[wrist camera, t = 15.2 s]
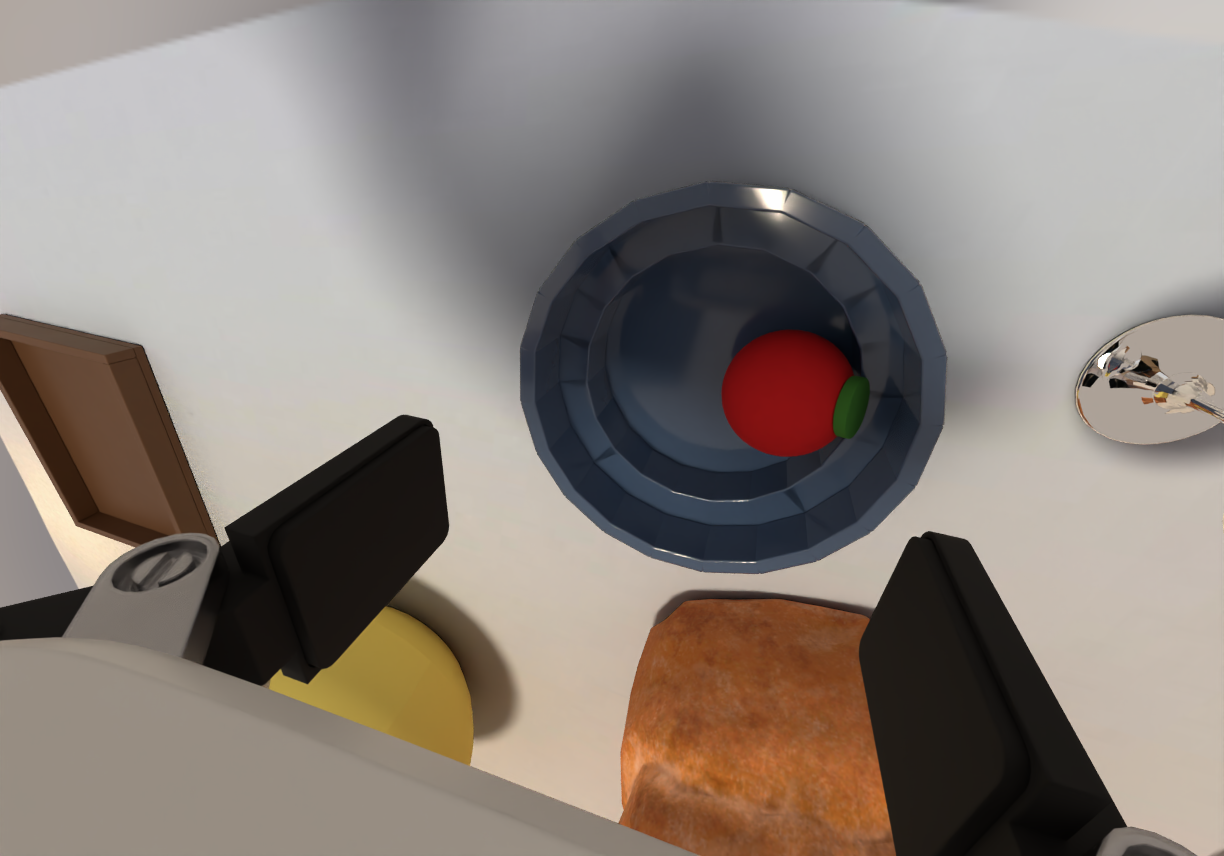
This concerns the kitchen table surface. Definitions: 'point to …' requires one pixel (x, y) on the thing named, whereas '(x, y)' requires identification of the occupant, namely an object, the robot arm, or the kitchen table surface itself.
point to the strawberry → (793, 394)
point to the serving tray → (100, 431)
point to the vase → (396, 686)
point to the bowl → (696, 365)
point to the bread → (754, 734)
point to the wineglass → (1156, 382)
